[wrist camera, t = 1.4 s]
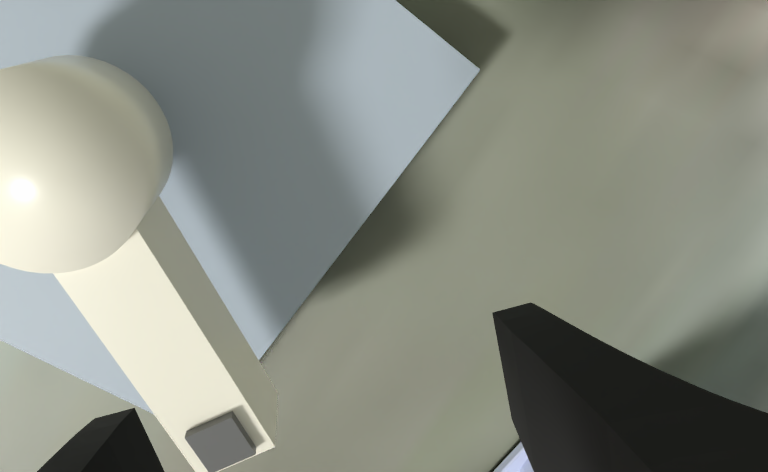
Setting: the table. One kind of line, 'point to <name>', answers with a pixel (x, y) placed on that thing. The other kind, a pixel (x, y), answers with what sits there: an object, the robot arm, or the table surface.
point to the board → (244, 143)
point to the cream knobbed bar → (126, 251)
